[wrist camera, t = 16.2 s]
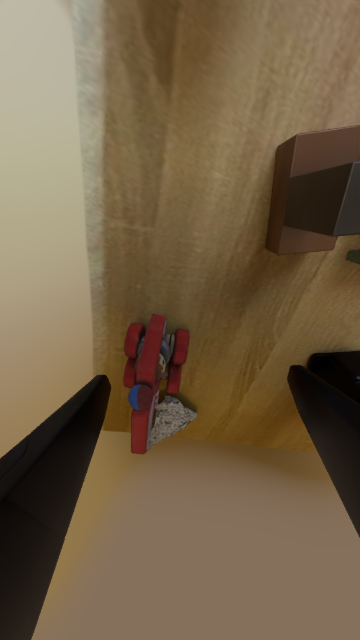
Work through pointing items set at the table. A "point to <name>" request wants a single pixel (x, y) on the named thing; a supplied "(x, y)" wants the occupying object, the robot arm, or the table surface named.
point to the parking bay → (354, 256)
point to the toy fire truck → (151, 372)
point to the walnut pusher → (315, 191)
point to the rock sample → (169, 419)
